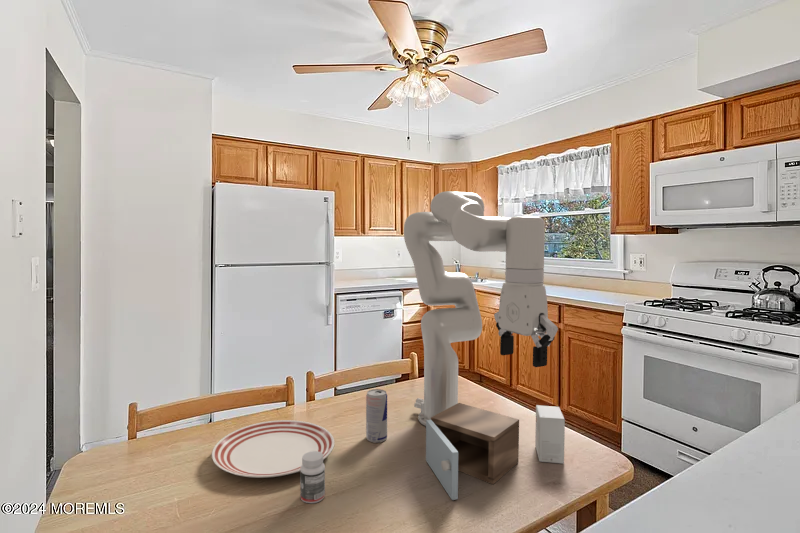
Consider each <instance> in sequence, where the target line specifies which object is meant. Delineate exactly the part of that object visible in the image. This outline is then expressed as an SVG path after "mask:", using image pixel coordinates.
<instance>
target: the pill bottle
mask: <svg viewBox="0 0 800 533" xmlns="http://www.w3.org/2000/svg"><path fill="white" fill-rule="evenodd" d="M325 467H326V466H325V463H324V460H323V454H322V453H321V452H318V451H312V452H308V453H305V454H304V455H303V457H302V465H301V468H300V471H299V473H300V474H299V477H300V478H299V479H300V480H299V484H300V486H299V487H300V490H299V491H300V495H299V496H300V499H301V501H302V502H303V503H306V504H316V503H319V502H321V501H322V500H323V499H324V498H325V497H326V496H325V495H326V474H325V473H326V468H325Z"/></svg>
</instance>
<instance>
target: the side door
mask: <svg viewBox="0 0 800 533" xmlns="http://www.w3.org/2000/svg"><path fill="white" fill-rule="evenodd" d="M425 461H426V463H427V464H428V466H429V467H430V469H431V470H432V472H433V473H434V476H435V477H436V478H437V479H438V481H439V482H440V484H441V486H442V488H443V489H444V490H445V491H446V493H447V494H448V496H449V498H450V500H452V501H454V500H458V499H459V471H458V451H457V450H456V449H455V447H454V446H453V445H452V444H451V443H450V441H449V440H448V439H447V438H446V437H445V435H444V434H443V433H442V432H441V431H440V430H439V428H438V427H437V426H436V425H435V424H434V422H433V421H432V420H426V426H425Z"/></svg>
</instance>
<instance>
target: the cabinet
mask: <svg viewBox="0 0 800 533" xmlns="http://www.w3.org/2000/svg"><path fill="white" fill-rule="evenodd" d="M431 420H432V421H433V422H434V424H435V425H436V426H437V427H438V428H439V430H440V431H441V432H442V433H443V434H444V435H445V437H446V438H447V439H448V440H449V441H450V443H451V444H452V445H453V446H454V447H455V449H456V450H457V451H458V472H461V473H463V474H466V475H468V476H471V477H473V478H476V479H478V480H480V481H483V482H485V483H488V484H492V485H494V484H496V482H498V481H500V479H501V478H503V476H505V475H506V474H507V473H508V472H509V471H510V470H512V468H514V467H515V466H516V465H517V464H519V458H520V457H519V456H520V454H519V448H520V443H519V442H520V418H515V417H512V416H509V415H508V416H507V415H504V414H500V413H497V412H493V411H491V410H487V409H482V408H479V407H476V406H472V405H468V404H465V403H461V402H458V404H456V405H454V406H452V407H450V408H448V409H446V410H444V411H442V412H440V413H438V414H436V415H434V416H433V417H431Z"/></svg>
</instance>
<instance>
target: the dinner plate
mask: <svg viewBox="0 0 800 533" xmlns="http://www.w3.org/2000/svg"><path fill="white" fill-rule="evenodd" d="M334 447H335V438H334V436H333V434H332V433H331V432H330V431H329V429H326V428H325V427H323V426H322V425H318V424H315V423H313V422H308V421H302V420H293V419H291V420H290V419H286V420H281V419H280V420H269V421H261V422H257V423H253V424H250V425H247V426H243V427H241V428H239V429H236V430H234V431H232V432H230V433H228V434H226V435H225V436H223V437H222V438H220V440H219V441H218V442H217V443H215V445H214V447H213V448H212V451H211V459H212V461H213V463H214V465H215V466H216V467H218V468H219V469H221V470H223V472H227V473H230V474H232V475H235V476H238V477H239V476H240V477H245V478H254V479H255V478H257V479H258V478H262V479H263V478H275V477H282V476H286V475H292V474H295V473H300V468H301V465H302V457H303V455H304V454H305V453H308V452H312V451H318V452H321V453H322V454H323V461H324V460H325V459H326V458H327V457H328V456H329V455H331V453H332V452H333V450H334Z"/></svg>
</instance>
